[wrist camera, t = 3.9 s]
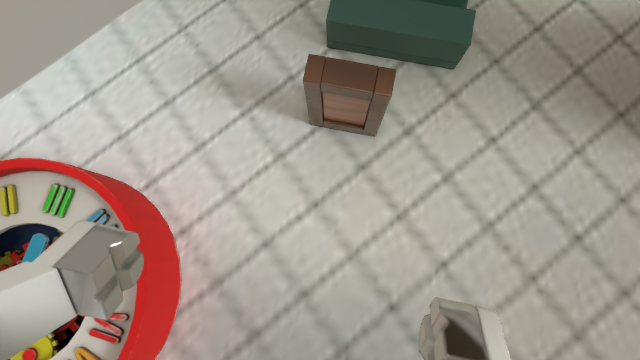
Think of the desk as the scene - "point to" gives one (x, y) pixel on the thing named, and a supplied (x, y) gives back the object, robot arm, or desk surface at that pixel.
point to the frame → (347, 94)
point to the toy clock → (104, 208)
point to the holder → (402, 29)
